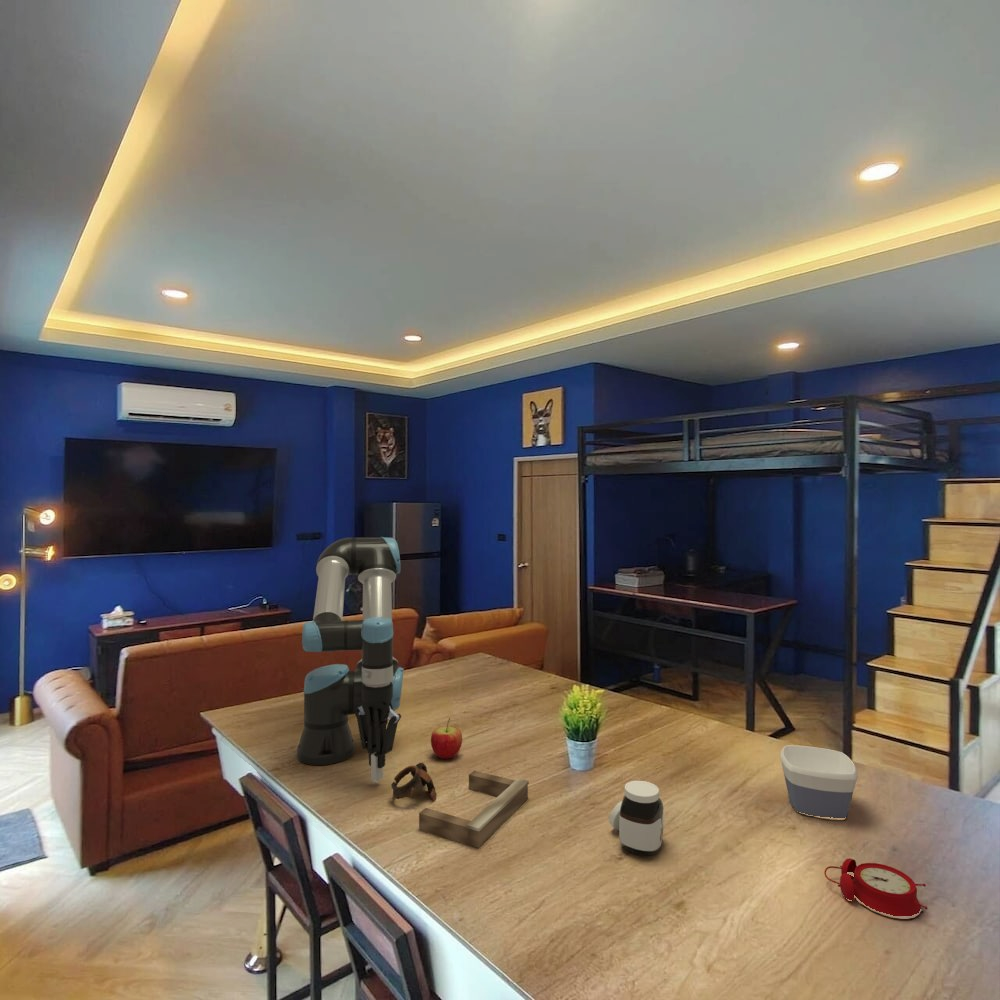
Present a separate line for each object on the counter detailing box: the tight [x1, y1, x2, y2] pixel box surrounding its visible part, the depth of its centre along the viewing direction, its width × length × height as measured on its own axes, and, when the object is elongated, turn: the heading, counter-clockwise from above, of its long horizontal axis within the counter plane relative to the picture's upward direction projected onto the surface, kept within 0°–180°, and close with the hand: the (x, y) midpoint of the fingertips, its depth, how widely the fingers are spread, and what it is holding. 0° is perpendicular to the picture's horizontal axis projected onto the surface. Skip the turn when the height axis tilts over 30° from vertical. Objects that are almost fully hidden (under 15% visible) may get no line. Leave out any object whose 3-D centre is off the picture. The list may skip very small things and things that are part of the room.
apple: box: [430, 717, 463, 760], centre depth 166 cm, size 8×8×10 cm
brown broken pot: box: [391, 762, 437, 803], centre depth 144 cm, size 12×10×8 cm
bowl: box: [780, 744, 859, 818], centre depth 139 cm, size 15×15×11 cm
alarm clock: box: [824, 858, 928, 916], centre depth 108 cm, size 10×6×15 cm
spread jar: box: [608, 780, 664, 856], centre depth 125 cm, size 12×11×12 cm
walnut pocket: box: [418, 770, 530, 849], centre depth 136 cm, size 15×23×4 cm, turn 152°
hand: (376, 779), depth 149 cm, fingers closed
